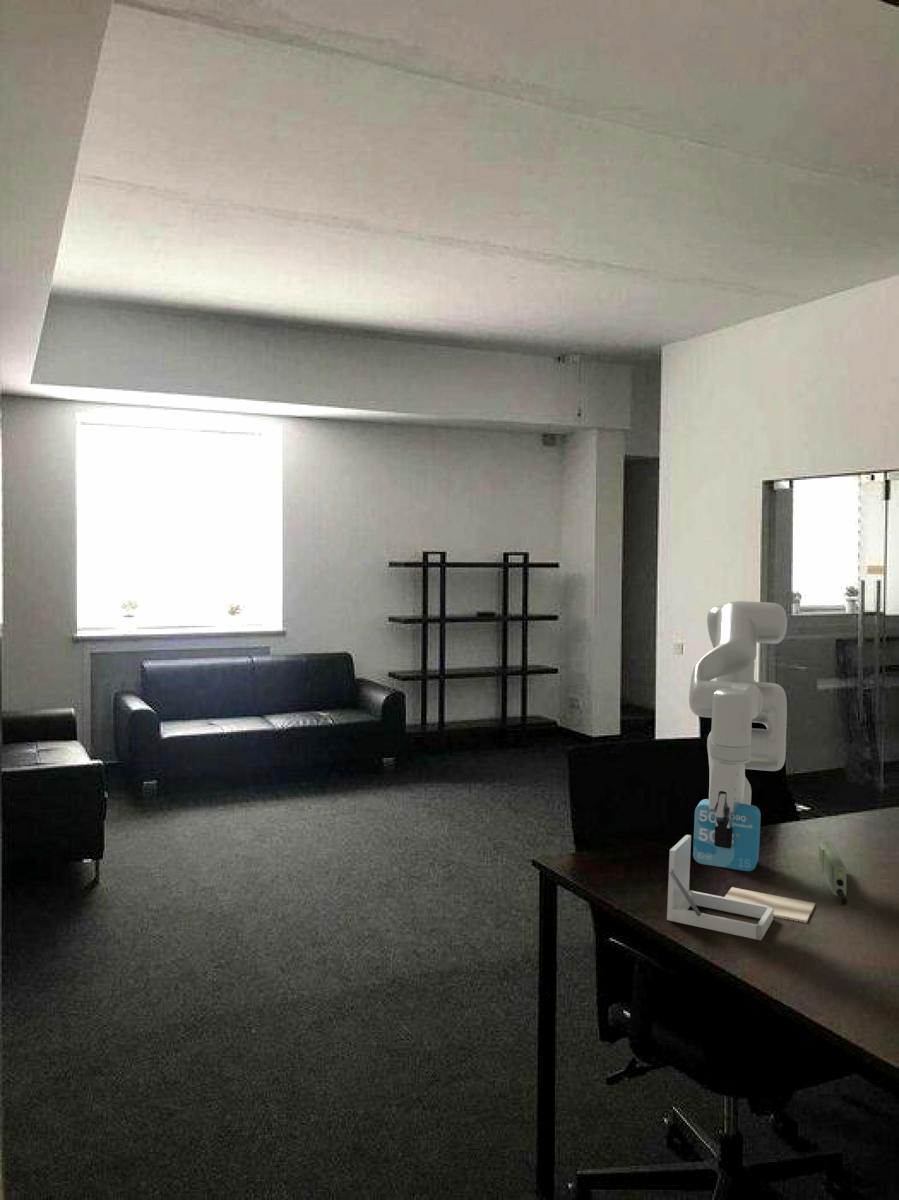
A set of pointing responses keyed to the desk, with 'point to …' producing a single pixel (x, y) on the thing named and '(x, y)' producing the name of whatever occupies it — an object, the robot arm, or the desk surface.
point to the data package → (743, 838)
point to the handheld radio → (833, 869)
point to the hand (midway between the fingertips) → (726, 841)
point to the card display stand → (709, 901)
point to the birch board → (775, 904)
